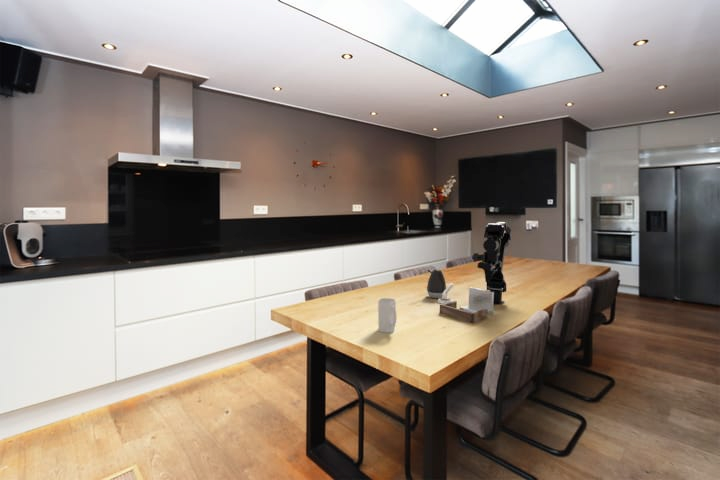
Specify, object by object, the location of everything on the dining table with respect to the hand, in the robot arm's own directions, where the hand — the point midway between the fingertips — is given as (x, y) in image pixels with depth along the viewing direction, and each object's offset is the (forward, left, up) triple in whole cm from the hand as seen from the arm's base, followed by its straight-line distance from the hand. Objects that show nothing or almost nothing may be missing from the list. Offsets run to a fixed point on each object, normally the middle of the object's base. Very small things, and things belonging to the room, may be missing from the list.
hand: (486, 282), depth 176 cm
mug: (+59, -5, -13) cm, 61 cm away
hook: (+7, -18, -13) cm, 24 cm away
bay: (+19, +1, -13) cm, 23 cm away
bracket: (+9, +1, -13) cm, 16 cm away
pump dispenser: (+3, -27, -13) cm, 30 cm away
